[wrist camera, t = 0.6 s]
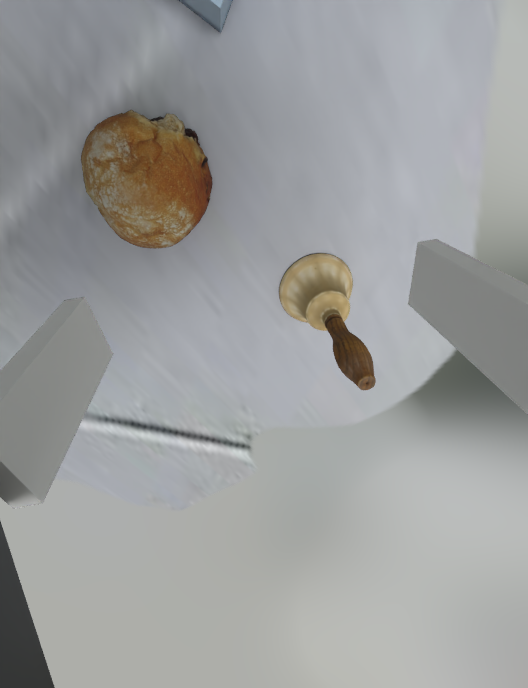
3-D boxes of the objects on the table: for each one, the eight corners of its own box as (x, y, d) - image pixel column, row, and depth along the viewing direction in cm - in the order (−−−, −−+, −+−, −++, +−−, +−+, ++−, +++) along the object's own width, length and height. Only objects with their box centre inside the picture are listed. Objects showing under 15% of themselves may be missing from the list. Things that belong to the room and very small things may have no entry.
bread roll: (96, 141, 29) (29, 171, 23) (173, 70, 23) (107, 87, 18) (167, 237, 34) (124, 278, 29) (242, 197, 29) (208, 239, 23)
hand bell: (302, 333, 38) (343, 438, 25) (264, 282, 34) (291, 376, 21) (363, 296, 36) (443, 389, 23) (331, 236, 32) (407, 309, 19)
